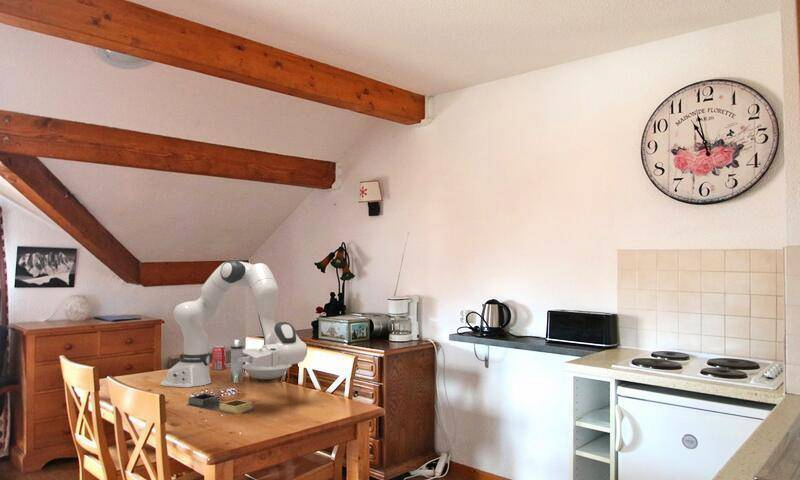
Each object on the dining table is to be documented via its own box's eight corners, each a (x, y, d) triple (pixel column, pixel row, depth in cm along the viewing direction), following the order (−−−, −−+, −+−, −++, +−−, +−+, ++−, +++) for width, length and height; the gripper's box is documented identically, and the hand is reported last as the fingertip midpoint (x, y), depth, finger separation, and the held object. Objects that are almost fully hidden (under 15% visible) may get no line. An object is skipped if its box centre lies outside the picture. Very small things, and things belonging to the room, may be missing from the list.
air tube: (229, 382, 218) (229, 340, 218) (231, 379, 222) (232, 338, 223) (241, 382, 218) (242, 340, 218) (243, 379, 223) (244, 338, 223)
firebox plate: (185, 407, 226) (185, 398, 226) (207, 401, 236) (207, 392, 236) (232, 417, 213) (232, 407, 213) (254, 410, 222) (254, 401, 222)
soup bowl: (290, 383, 270) (290, 369, 270) (238, 384, 266) (238, 370, 266) (292, 373, 294) (292, 360, 294) (244, 374, 290) (244, 361, 290)
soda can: (221, 367, 307) (222, 344, 307) (228, 369, 302) (228, 346, 302) (209, 368, 302) (209, 346, 302) (215, 370, 297) (216, 347, 297)
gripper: (259, 344, 236) (226, 346, 229) (278, 351, 219) (243, 354, 212) (259, 359, 236) (226, 362, 228) (278, 367, 219) (243, 371, 211)
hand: (234, 358), depth 220 cm, fingers closed on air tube, 4 cm apart
